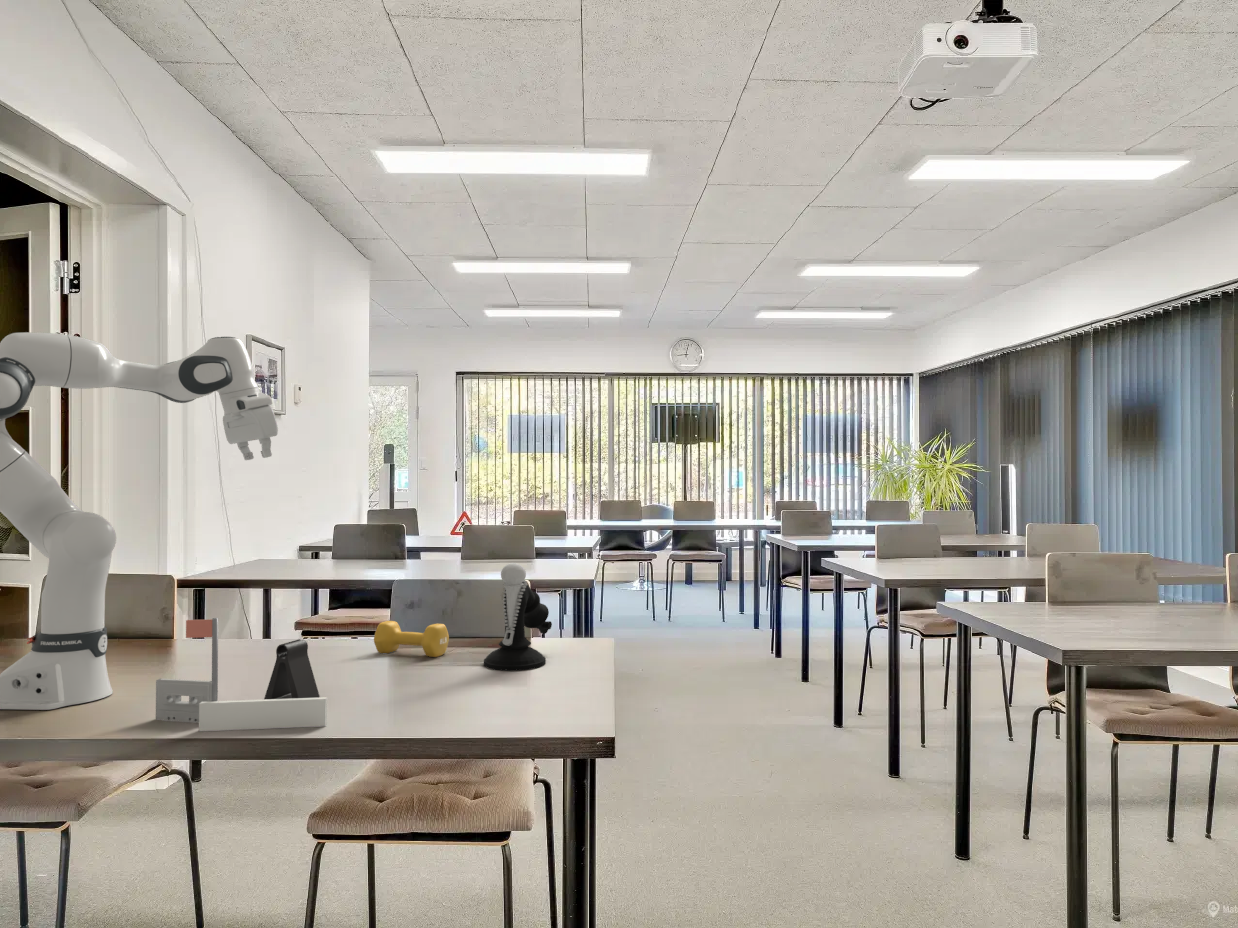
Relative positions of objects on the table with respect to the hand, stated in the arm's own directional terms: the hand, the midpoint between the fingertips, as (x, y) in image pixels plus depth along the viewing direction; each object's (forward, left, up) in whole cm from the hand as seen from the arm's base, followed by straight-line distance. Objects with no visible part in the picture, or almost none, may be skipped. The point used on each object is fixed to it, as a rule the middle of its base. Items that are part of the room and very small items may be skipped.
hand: (258, 458), depth 197 cm
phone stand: (+16, -32, -51) cm, 62 cm away
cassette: (0, -44, -51) cm, 67 cm away
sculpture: (+64, -1, -51) cm, 82 cm away
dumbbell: (+35, +11, -51) cm, 63 cm away
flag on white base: (+15, -45, -51) cm, 69 cm away
